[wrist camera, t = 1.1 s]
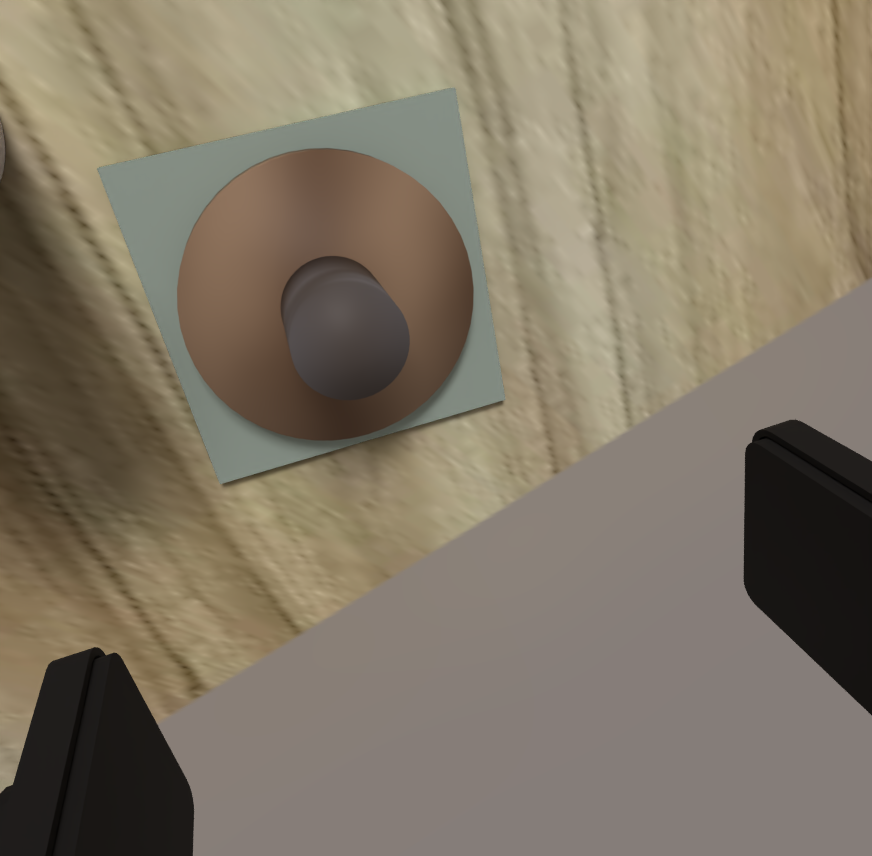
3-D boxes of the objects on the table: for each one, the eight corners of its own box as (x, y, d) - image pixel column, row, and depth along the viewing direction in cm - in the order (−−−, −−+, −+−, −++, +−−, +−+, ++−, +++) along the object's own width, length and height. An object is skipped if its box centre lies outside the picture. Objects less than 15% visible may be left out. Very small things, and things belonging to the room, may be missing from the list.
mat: (452, 87, 24) (455, 87, 24) (502, 395, 29) (505, 399, 29) (99, 167, 22) (96, 168, 22) (219, 479, 28) (220, 484, 27)
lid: (437, 116, 24) (485, 124, 20) (485, 387, 29) (532, 442, 24) (131, 188, 22) (108, 214, 18) (234, 461, 27) (236, 533, 23)
